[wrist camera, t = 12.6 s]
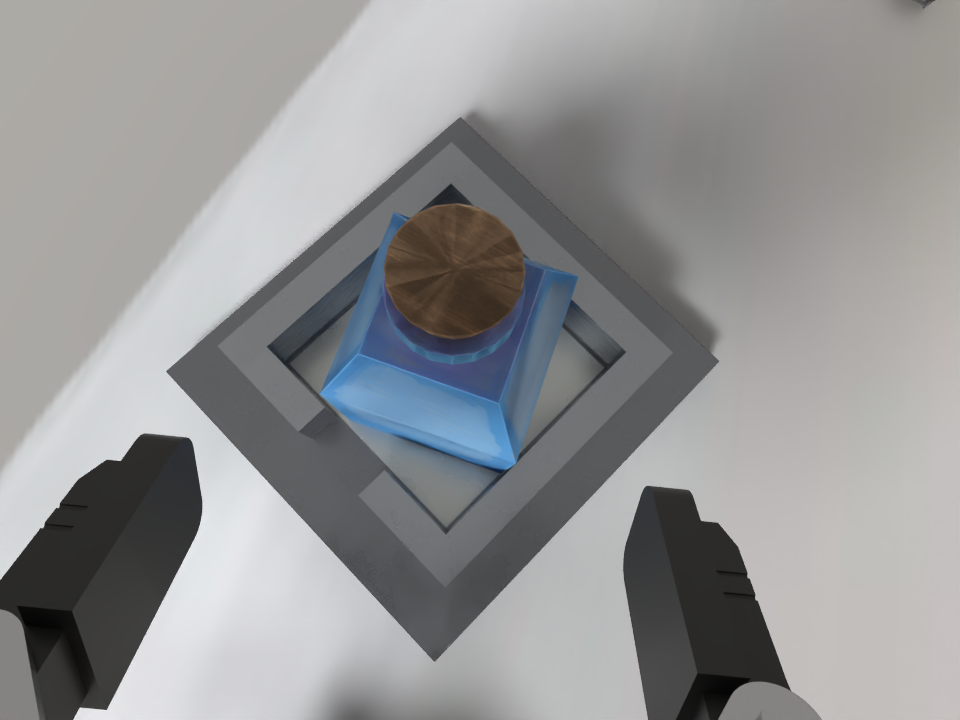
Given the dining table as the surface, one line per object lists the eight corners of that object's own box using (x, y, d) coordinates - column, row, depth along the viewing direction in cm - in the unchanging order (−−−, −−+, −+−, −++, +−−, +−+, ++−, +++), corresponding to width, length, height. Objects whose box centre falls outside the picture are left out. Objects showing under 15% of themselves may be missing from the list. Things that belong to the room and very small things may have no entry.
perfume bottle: (348, 419, 26) (270, 350, 15) (405, 276, 28) (374, 107, 16) (500, 473, 26) (542, 447, 15) (549, 326, 28) (625, 194, 16)
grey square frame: (459, 135, 31) (461, 74, 27) (705, 368, 29) (751, 344, 25) (180, 378, 28) (131, 354, 24) (435, 652, 26) (432, 682, 22)
